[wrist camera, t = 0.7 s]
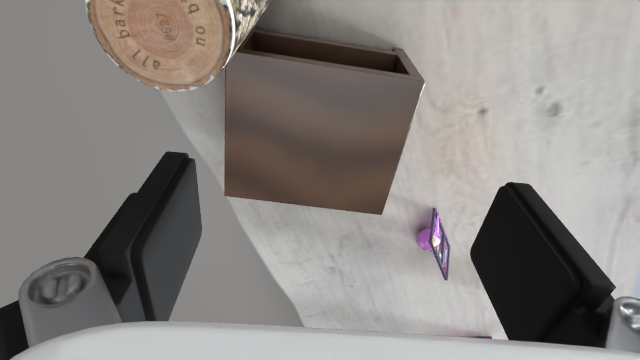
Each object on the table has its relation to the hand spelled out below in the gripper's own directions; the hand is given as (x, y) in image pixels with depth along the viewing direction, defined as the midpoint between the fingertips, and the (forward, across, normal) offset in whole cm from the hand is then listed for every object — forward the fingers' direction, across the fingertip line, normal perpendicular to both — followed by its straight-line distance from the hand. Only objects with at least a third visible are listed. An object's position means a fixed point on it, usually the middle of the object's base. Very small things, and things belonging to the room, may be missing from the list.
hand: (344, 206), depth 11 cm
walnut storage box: (+35, 0, +11) cm, 36 cm away
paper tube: (+35, +8, -3) cm, 36 cm away
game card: (+35, -20, +31) cm, 50 cm away
